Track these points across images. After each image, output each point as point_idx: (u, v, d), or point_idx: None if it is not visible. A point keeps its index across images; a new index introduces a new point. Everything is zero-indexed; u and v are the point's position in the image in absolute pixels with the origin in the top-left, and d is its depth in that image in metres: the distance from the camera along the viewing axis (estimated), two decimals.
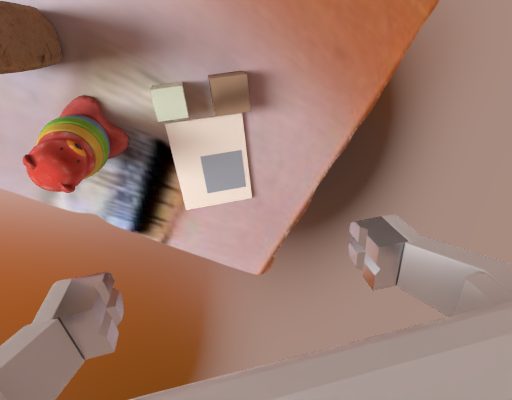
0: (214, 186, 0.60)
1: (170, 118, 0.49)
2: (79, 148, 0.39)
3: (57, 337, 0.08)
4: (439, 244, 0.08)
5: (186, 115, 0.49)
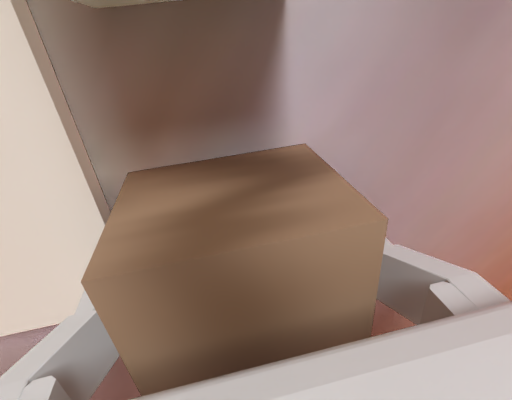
0: None
1: None
2: None
3: (99, 328, 0.08)
4: (407, 251, 0.08)
5: None
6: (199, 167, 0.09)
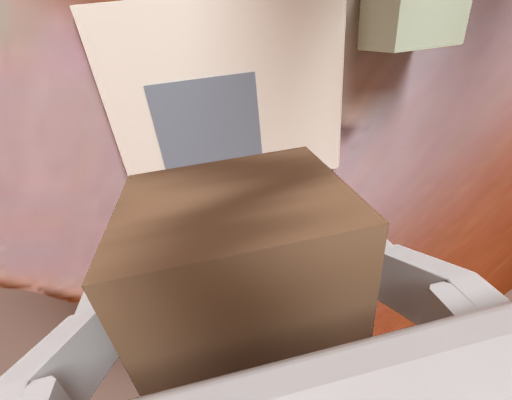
0: (167, 106, 0.22)
1: None
2: None
3: (99, 328, 0.08)
4: (407, 251, 0.08)
5: (400, 47, 0.19)
6: (200, 170, 0.09)
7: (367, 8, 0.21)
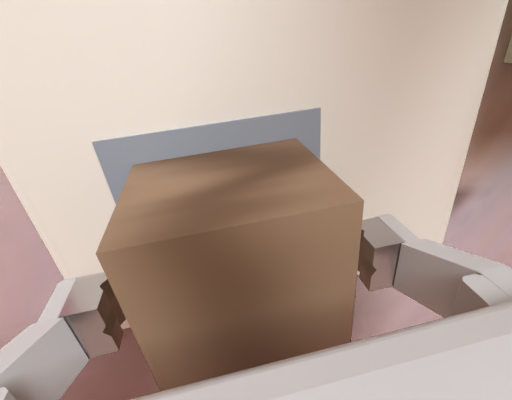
0: None
1: None
2: None
3: (62, 336, 0.08)
4: (435, 245, 0.08)
5: None
6: (198, 159, 0.10)
7: None
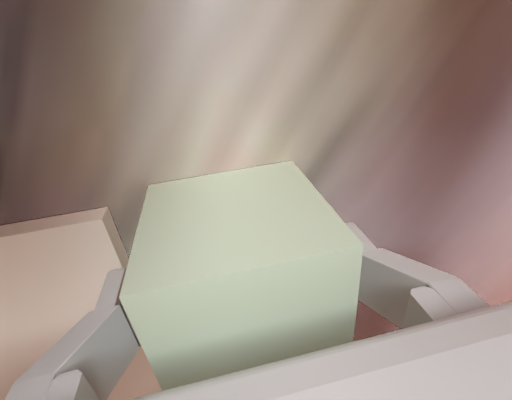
0: None
1: (161, 360, 0.07)
2: None
3: (119, 323, 0.08)
4: (390, 255, 0.08)
5: None
6: None
7: None
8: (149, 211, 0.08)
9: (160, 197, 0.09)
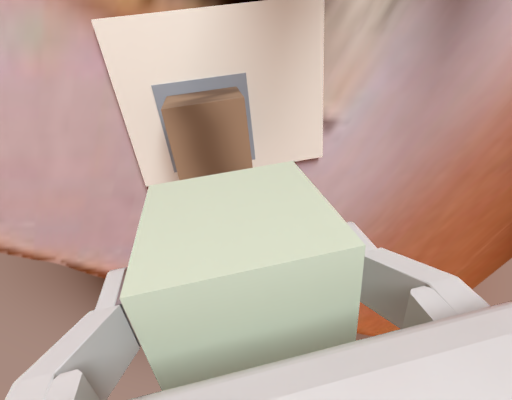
0: None
1: (161, 361, 0.07)
2: None
3: (119, 323, 0.08)
4: (390, 255, 0.08)
5: None
6: (193, 93, 0.25)
7: None
8: (150, 212, 0.08)
9: (161, 197, 0.09)
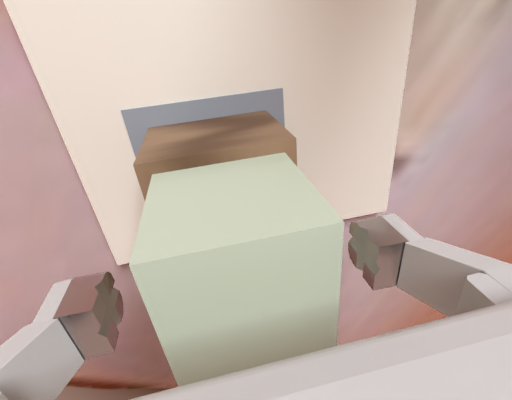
0: None
1: (164, 326, 0.08)
2: None
3: (57, 337, 0.08)
4: (439, 244, 0.08)
5: (190, 382, 0.09)
6: (195, 123, 0.15)
7: None
8: (153, 196, 0.09)
9: (163, 184, 0.10)
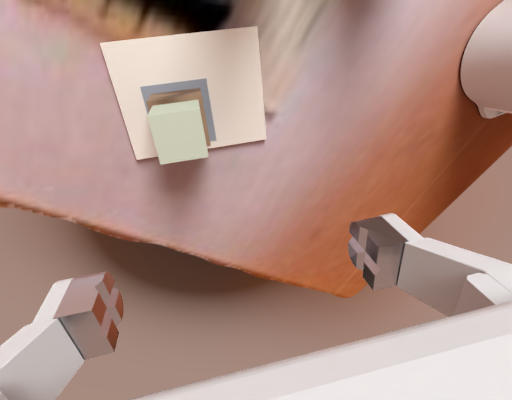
0: None
1: (155, 137, 0.29)
2: None
3: (57, 337, 0.08)
4: (439, 244, 0.08)
5: (163, 161, 0.31)
6: (169, 92, 0.36)
7: None
8: (152, 108, 0.31)
9: (156, 107, 0.32)
